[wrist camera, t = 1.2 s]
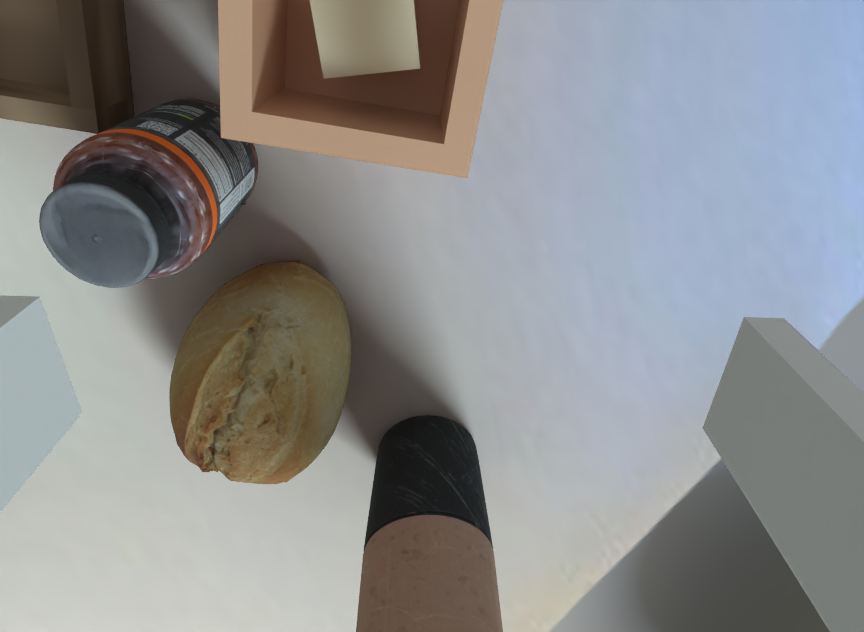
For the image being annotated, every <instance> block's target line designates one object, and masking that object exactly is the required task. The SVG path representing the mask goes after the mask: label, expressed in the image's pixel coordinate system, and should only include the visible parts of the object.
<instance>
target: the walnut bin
mask: <svg viewBox="0 0 864 632" xmlns="http://www.w3.org/2000/svg"><path fill="white" fill-rule="evenodd" d="M133 117H134V110H133V99H132V89H131V79H130V68H129V58H128V48H127V37H126V27H125V16H124V6H123V0H0V118H3V119H9V120H15V121H22V122H28V123H34V124H40V125H46V126H53V127H59V128H65V129H71V130H78V131H84V132H90V133H96V134H98V133H100V132H102V131H104V130H106V129H109V128H111V127H114V126H116V125H118V124H120V123H122V122H124V121H127V120H129V119H131V118H133Z"/></svg>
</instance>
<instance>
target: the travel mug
mask: <svg viewBox="0 0 864 632" xmlns="http://www.w3.org/2000/svg"><path fill="white" fill-rule="evenodd" d="M356 632H503V629H502V620H501V611H500V603H499V594H498V586H497V577H496V568H495V560H494V553H493V546H492V540H491V533H490V527H489V521H488V515H487V509H486V503H485V497H484V491H483V484H482V478H481V472H480V466H479V461H478V455H477V450H476V445H475V443H474V440H473V439H472V437H471V435H470V434H469V433H468V431H467V430H466V429H465V428H463V427H462V426H461V425H459V424H458V423H456V422H454V421H452V420H449V419H446V418H442V417H437V416H419V417H413V418H409V419H407V420H404V421H402V422H400V423H398V424H396V425H395V426H393V427H392V428H391V429H390V430H389V431H388V432H387V433H386V434H385V435H384V437H383V439H382V440H381V443H380V445H379V449H378V454H377V460H376V467H375V474H374V481H373V488H372V495H371V503H370V510H369V517H368V524H367V531H366V538H365V545H364V554H363V563H362V573H361V584H360V595H359V606H358V616H357V627H356Z"/></svg>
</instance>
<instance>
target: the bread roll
mask: <svg viewBox="0 0 864 632" xmlns="http://www.w3.org/2000/svg"><path fill="white" fill-rule="evenodd" d="M350 366H351V334H350V328H349V322H348V317H347V314H346V310H345V306H344V303H343V300H342V298H341V296H340V294H339V293H338V292H337V291H336V289H335V287H334V285H333V284H332V283H331V282H330V281H328V280H327V279H326V278H324V277H323V276H322V275H321V274H319V273H318V272H317V271H315V270H314V269H312V268H310V267H308V266H306V265H304V264H303V263H302V261H299V262H296V263H295V262H292V261H288V262H275V263H269V264H262V265H260V266H257V267H255V268H253V269H251V270H249V271H247V272H245V273H243V274H242V275H240V276H238V277H236V278H234V279H233V280H231V281H230V282H228V283H226V284H224V285H223V286H222V287H221V288H219V290H218V291H217V292H216V293H215V294H214V295H213V296H212V297H211V298H210V299H209V300H208V302H207V303H206V304H205V305H204V306H203V308H202V309H201V310H200V311H199V313H198V314H197V315H196V316H195V317H194V319H193V320H192V322H191V324H190V326H189V328H188V329H187V331H186V334H185V336H184V338H183V341H182V343H181V346H180V348H179V351H178V353H177V356H176V359H175V363H174V368H173V371H172V375H171V383H170V415H171V422H172V426H173V430H174V433H175V437H176V441H177V444H178V446H179V447H180V449H181V451H182V452H183V454H184V456H185V457H186V458H187V459H188V460H189V461H190V462H192V463H193V464H195V465H197V466H198V467H199V468H200V469H201V470H202V472H209V471H210V470H211V471H217V472H218V470H219V471H220V472H222V473H223V474H224V475H225V477H226V478H228V479H229V480H231V481H237V482H245V483H256V484H278V483H282V482H287V481H289V480H290V479H292V478H293V477H294V476H296V475H297V474H299V473H300V472H301V471H303V470H304V469H305V468H307V467H308V466H309V465H310V464H311V463H312V462H313V461H314V460H315V459H316V457H317V456H318V455H319V454H320V453H321V451H322V450H323V449H324V447H325V446H326V445H327V443H328V441H329V440H330V438H331V436H332V435H333V433H334V430H335V428H336V425H337V423H338V420H339V418H340V415H341V412H342V409H343V405H344V401H345V397H346V393H347V388H348V383H349V378H350Z"/></svg>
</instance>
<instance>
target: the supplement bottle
mask: <svg viewBox="0 0 864 632" xmlns="http://www.w3.org/2000/svg"><path fill="white" fill-rule="evenodd" d="M257 172H258V160H257V155H256V151H255V148H254V145H253V143H249V142H243V141H237V140H231V139H225V138H221V121H220V108H219V107H217V106H215V105H213V104H211V103H208V102H204V101H201V100H191V99H184V100H175V101H171V102H169V103H165V104H162V105H160V106H158V107H156V108H154V109H151V110H149V111H147V112H144V113H142V114H140V115H138V116H136V117H133V118H131V119H129V120H127V121H124V122H122V123H120V124H118V125H116V126H114V127H111V128H109V129H106V130H104V131H102V132H100V133H98V134H96V135H94V136H92V137H89V138H87V139H86V140H84V141H82V142H81V143H80V144H78V145H77V146H75V147H74V148H73V149H72V150H71V151H70V152H69V153H68V154H67V155H66V156H65V157H64V159H63V160H62V162H61V163H60V165H59V167H58V170H57V172H56V175H55V179H54V186H53V192H52V193H51V194H50V195H49V196H48V197H47V199H46V200H45V202H44V204H43V206H42V208H41V213H40V220H39V222H40V230H41V234H42V237H43V240H44V242H45V244H46V246H47V248H48V249H49V251H50V252H51V254H52V255H53V257H54V258H55V259H56V260H57V261H58V263H59V264H61V265H62V266H63V267H64V268H65V269H66V270H67V271H68V272H70V273H72V274H73V275H74V276H76V277H78V278H79V279H81V280H84V281H86V282H89V283H91V284H94V285H97V286H103V287H110V288H119V287H126V286H130V285H133V284H135V283H138V282H140V281H141V280H143V279H155V278H161V277H166V276H170V275H174V274H176V273H178V272H180V271H183V270H184V269H186V268H188V267H189V266H190V265H192V264H193V263H194V262H195V261H196V260H197V259H198V258H199V257H200V256H201V254H202V253H203V252H204V251H205V250H206V249H207V248H208V247H209V246H210V244H211V243H212V242H213V240H214V239H215V238H216V236H217V235H218V234H219V233H220V232H221V231H222V229H223V228H224V226H225V225H226V224H227V223H228V222H229V220H230V219H231V218H232V217H233V215H234V214H235V213H236V212H237V211H238V210H239V208H240V207H241V206H242V205H244V204H245V203H244V202H245V201H246V199H247V198H248V197H249V195H250V194H251V192H252V190H253V187H254V185H255V183H256V179H257Z"/></svg>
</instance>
